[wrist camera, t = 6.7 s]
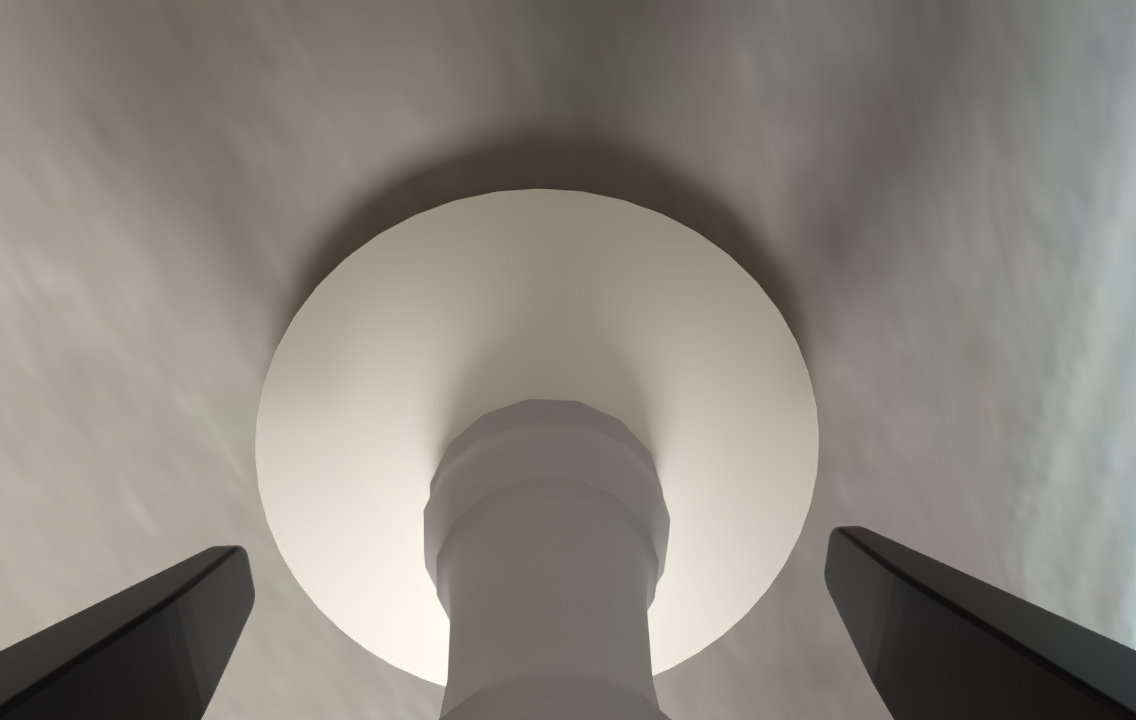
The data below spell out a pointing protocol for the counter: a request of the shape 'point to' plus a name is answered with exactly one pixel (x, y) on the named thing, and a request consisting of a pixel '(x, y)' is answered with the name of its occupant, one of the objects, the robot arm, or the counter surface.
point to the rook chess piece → (547, 565)
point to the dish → (533, 371)
